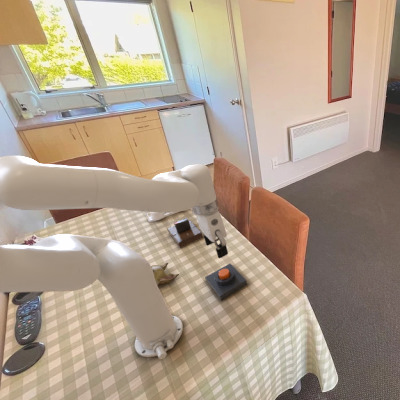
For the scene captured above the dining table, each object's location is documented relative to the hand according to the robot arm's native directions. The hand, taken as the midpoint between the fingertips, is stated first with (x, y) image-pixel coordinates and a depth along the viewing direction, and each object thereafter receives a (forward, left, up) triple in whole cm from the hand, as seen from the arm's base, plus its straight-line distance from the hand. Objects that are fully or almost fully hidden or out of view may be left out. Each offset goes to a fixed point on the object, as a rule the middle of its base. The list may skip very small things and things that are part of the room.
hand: (217, 249), depth 88 cm
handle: (+39, 0, -13) cm, 41 cm away
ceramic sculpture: (+18, +19, -16) cm, 31 cm away
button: (0, 0, -12) cm, 12 cm away
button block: (0, 0, -16) cm, 16 cm away
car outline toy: (+65, -1, -16) cm, 67 cm away
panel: (+39, 0, -16) cm, 42 cm away
